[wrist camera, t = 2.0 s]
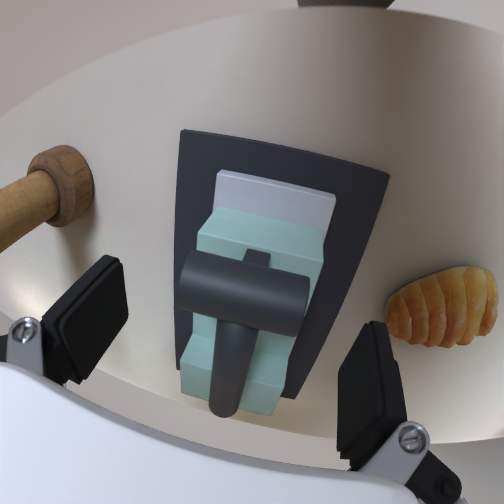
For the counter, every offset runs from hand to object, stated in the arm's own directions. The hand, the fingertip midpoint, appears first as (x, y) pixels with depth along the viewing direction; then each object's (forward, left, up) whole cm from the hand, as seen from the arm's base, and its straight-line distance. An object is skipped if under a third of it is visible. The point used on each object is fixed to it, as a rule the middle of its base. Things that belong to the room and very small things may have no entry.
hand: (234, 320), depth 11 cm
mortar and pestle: (+1, -17, -10) cm, 20 cm away
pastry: (+4, +15, -10) cm, 19 cm away
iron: (+5, 0, -9) cm, 10 cm away
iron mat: (+8, 0, -10) cm, 13 cm away
